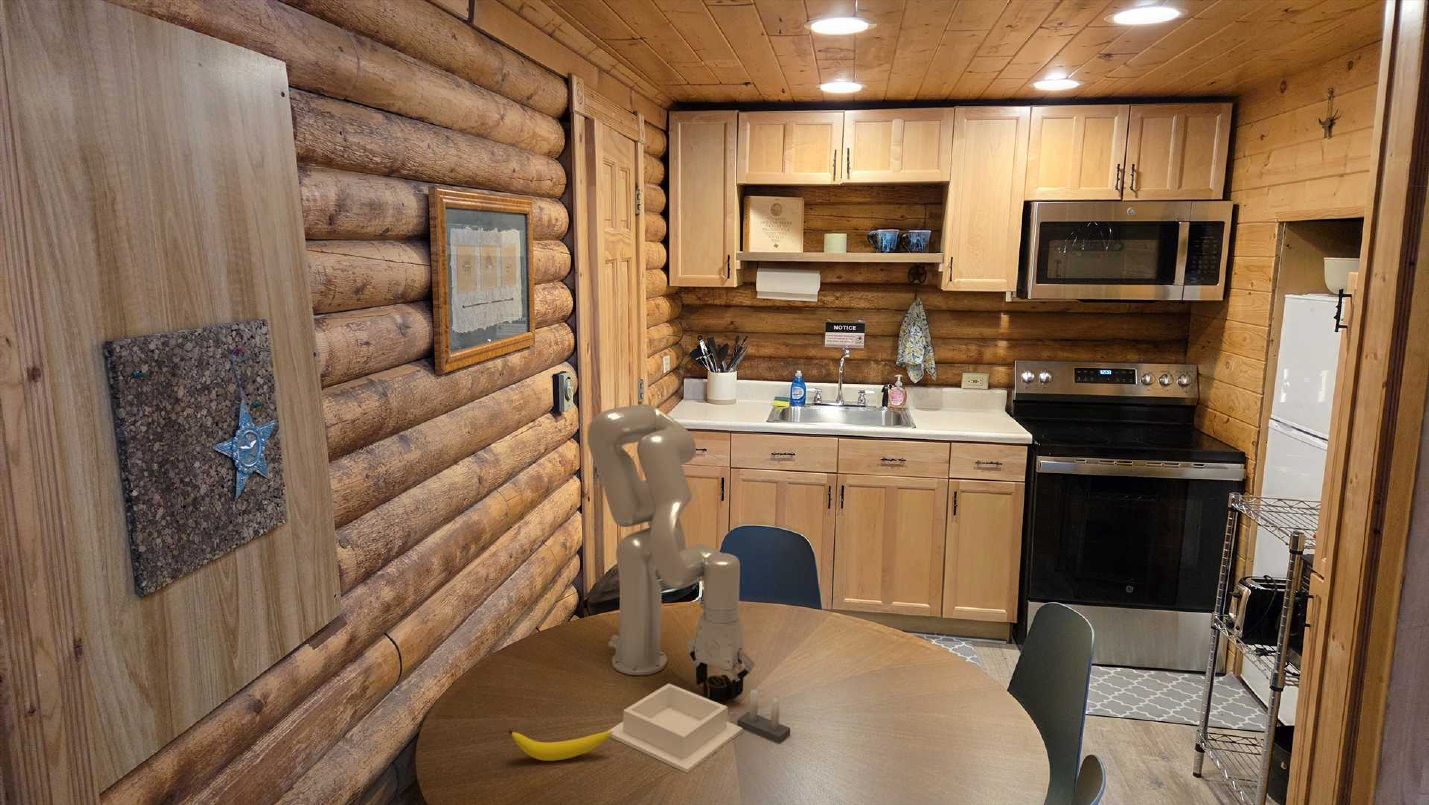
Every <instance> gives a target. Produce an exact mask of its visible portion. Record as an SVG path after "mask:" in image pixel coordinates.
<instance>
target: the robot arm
mask: <svg viewBox="0 0 1429 805" xmlns="http://www.w3.org/2000/svg"><path fill="white" fill-rule="evenodd" d="M587 430H588V431H587V438H586V439H587V444H588V449H589V452H590V455H591V457H592V459H593V461H594V464H595V465H596V468H597V470H598V474H599V476H600V480H601V484H602V487H603V491H604V494H605V498H606V501H607V502H606V503H607V505H608V508H609V511H610V513H611V517H612V519H613V521H614V523H615V524H616V525H617V526H619V527H621V528H630V527H631V528H632V527H634V526H639V525H642V524H645V523H647V526H648V527H647V528H643V529H640V530H637V531H633V532H632V533H629V534H627V535H626V536H624V537H623V538H622V539H621V540H619V542H618V544H617V547H616V552H615V558H616V559H615V560H616V563H617V564H616V565H617V569H618V577H619V628H618V629H619V635H617V634H612V636H611V639H610V641H608V644H607V646H608V647H610V648H613V649H615V654H613V655H612V658H611V660H612V662H611V663H612V666H613V668H614V669H616V670H617V671H618V672H620V673H622V674H624V675H625V674H626V675H630V676H631V675H632V676H647V675H653V674H656V673H659V672H661V671H662V670H663V669H665V667H666V666H667V661H668V658H667V656H666V654H665V653H664V652H663V651H661V637H662V636H661V635H662V633H661V632H662V600H663V599H662V586H661V583H660V581H659V579H658V578H657V575H656V572H657V573H658V576H659V577H660V579H661V580H662V582H663V583H664V584H665V585H666V587H668V588H670V589H672V590H681V589H684V588H686V587H689V586H692V585H694V584H696V583H699V582H703V601H700V603H699V608H702V614H701V615H699V618H698V623H697V626H696V633H695V634H696V635H695V639H692V640H689V641H688V642H686V647H687V650H688V652H689V656H690V658H691V659H692V661H693V666H694V667H695V678H696V681H695V683H696V685H697V686H700V685H703V683H704V681H705V679H706V678H708V666H711V667H713V668H716V669H719V670H721V671H725V672H730V674H731V675H732V677H733V679H732V680H731V682H732V692H731V697H732V698H735V699H736V697H737V698H738V697H739V696H741V695H742V694H743V692H744V678H745V677H747V676H748V675H750V673H751V672H752V670H753V669H754V667H755V666H756V664H755V662H754V661H753V660H752V659H751V658H750V657H749V655H747V654H746V652H745V651H744V650H745V649H744V647H745V646H744V632H743V628H742V622H741V620H740V619H739V615H740V614H739V612H740V610H739V608H740V581H741V580H740V575H741V573H740V572H741V571H740V570H741V563H740V560H739V558H738V557H737V556H736V555H734V554H731V553H725V552H722V551H719V550H717V549H716V548H714V547H712V546H710V545H709V544H706V543H705V544H704V543H700V544H695V545H693V546H690V547H689V546H688V547H687V548H686V536H685V533H684V529H683V526H682V522H681V519H680V516H681V514H682V513H683V511H684V509H685V508H686V506H688V504H689V503H690V502H691V500H692V491H691V489H690V485H689V483H688V480H687V476H686V474H685V471H684V468H683V465H685V464H687V463H689V462H691V461H692V460H693V459H694V458H695V456H696V452H697V447H696V445H697V444H696V442H695V439H694V437H693V436H692V434H691V432H690V431H689V430H688V429H686V427H684V426H683V425H682V424H681V423H680V422H678V421H677V420H675V419H674V418H672V416H670V415H669V414H667V413H666V412H664V411H663V410H661V409H659V408H658V407H656V406H655V405H652V404H637V405H629V406H621V407H614V408H611V409H606V410H604V411H601V412H600V413H598V414H597V415H596V416H595V417H593V418H592V420H591V422H590V424H589V426H588V429H587ZM635 443H637V447H636V453H637V456H638V460H639V462H640V466H641V469H642V472H643V475H644V478H645V480H641V477H640V475H639V472H638V468H637V465H636V462H635V461H634V459H633V458H632V456H631V455H630V454H629V452H628V451H627V450H625V449H624V448H623V447H624V446H625V445H628V444H629V445H630V444H635ZM742 664H743V665H744V667H743V665H742Z"/></svg>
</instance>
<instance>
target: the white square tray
mask: <svg viewBox="0 0 1429 805" xmlns="http://www.w3.org/2000/svg"><path fill="white" fill-rule="evenodd" d="M622 719H623V720H622V722H620V723H618V724H617V725H615V726H613V727H612V728H610V729H608V730H607V731H613V733H612V734H611V735H610V736H609V737H608V738H612V739H613V740H616V741H618V742H620V743H622V744H624V745H625V746H629V747H631V748H633V749H634V750H637V751H639V752H641V753H643V754H645V755H647V756H650V757H651V758H654V759H656V760H658V761H660V762H662V763H664V764H666V765H669V766H671V767H673V768H675V769H677V770H679V771H681V772H684V773H685V774H689V773H690V772H692V771H693V770H694V769H695V768H697V767H698V766H700V765H701V763H703V762H704V761H706V760H707V759H709V758H710V757H712V755H713V754H715V753H716V752H718V751H719V750H721V749H722V748H723V747H725V746H726V745H727V744H728V743H730V742H731V741H732V740H733V739H735V738H736V737H737V736H739V735H741V734H742V733H743V731H744V729H743V728H742V727H739V726H737V725H736V724H734V723H732V722H729V721H728V706H727V705H724V704H721V703H720V702H714V701H712V700H709V699H707V698H706V697H705V696H702V695H699V694H696V693H695V692H694V693H693V692H692V691H689V690H687V689H684V688H681V687H679V686H676V685H673V684H672V683H667V684H665V685H663V686H662V687H660V688H658V689H656V690H655V691H653V692H652V693H649V695H647V696H645V697H644V698H642V699H640V700H638V701H637V702H635V703H633V704H632V705H629V706H628V707H627V708H625V709H623V718H622Z"/></svg>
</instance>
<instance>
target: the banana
mask: <svg viewBox="0 0 1429 805" xmlns="http://www.w3.org/2000/svg"><path fill="white" fill-rule="evenodd" d="M612 733H613V731H608V730H606V731H603V732H602V731H601V732H599V733H595V734H591V735H587V736H584V737H581V738H575V739H569V740H561V741H554V742H553V741H552V742H550V741H548V742H544V741H542V742H541V741H537V740H534V739H531V738H529V737H527V736H525V735H523V734H521V733H518V732H513V731H512V729H508V734H510V735H511V736H512V738H513V740H514V742H515V743H516V744H517V746H518V747H519V749H521V750H522V751H523V752H524V753H526V754H527V755H529V756H530V757H531V758H533V759H536V760H540V761H546V762H548V761H549V762H550V761H553V762H554V761H561V760H566V759H570V758H571V759H572V758H574V757H577V756H580V755H583V754H584V753H588V752H590V751H591V750H594V749H596V747H598V746H600V745H601V744H603V743H605V741H606V740H608V739H609V738H610V737H609V736H610V735H611V734H612Z"/></svg>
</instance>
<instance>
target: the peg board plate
mask: <svg viewBox="0 0 1429 805" xmlns="http://www.w3.org/2000/svg"><path fill="white" fill-rule="evenodd" d="M749 699H750V700H749V711H746V712H745V713H744V714H743V715H742V716H740V717H739V718H737V721H736V722H737V723H736V724H737V726H739V727H742V728H743V730H745V731H747V732H749V733H750V732H751V733H752V734H755V735H758V736H760V737H763V738H765V739H767V740H770V741H771V742H774V743H777V744H781V743H782V742H784V741H785V740H787V738H788V737H789V736H790V735H791V727H788V726H786V725H784V724H781V723H780V721H779V720H780V703H781V702H780V701H781V700H780V698H779V697H772V698H771V702H770V703H771V704H770V719H769V718H766V717H764V716H762V715H759V714H758V713H759V712H758V711H759V708H758V707H759V690H757V689H751V690H750V696H749Z"/></svg>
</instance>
